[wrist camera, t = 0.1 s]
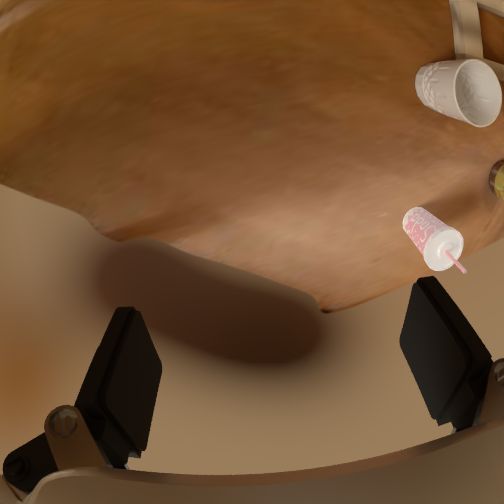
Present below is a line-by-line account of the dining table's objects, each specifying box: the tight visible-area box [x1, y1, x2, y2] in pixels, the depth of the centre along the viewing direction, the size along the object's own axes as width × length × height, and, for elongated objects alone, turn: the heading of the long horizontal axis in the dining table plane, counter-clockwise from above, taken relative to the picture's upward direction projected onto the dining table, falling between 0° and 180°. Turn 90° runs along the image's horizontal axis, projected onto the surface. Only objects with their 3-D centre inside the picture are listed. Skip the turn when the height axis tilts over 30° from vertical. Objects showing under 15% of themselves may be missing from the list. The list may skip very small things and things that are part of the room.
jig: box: [449, 0, 504, 82], centre depth 24 cm, size 22×16×2 cm
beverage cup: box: [403, 207, 467, 274], centre depth 37 cm, size 6×6×14 cm
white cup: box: [415, 59, 502, 127], centre depth 28 cm, size 8×8×10 cm
